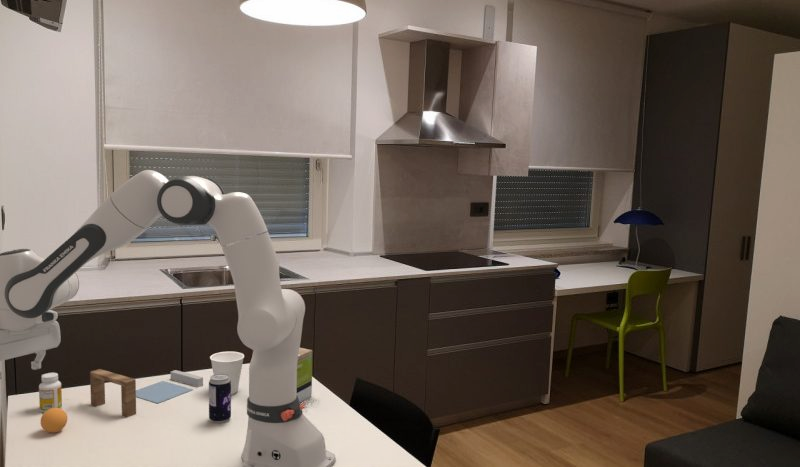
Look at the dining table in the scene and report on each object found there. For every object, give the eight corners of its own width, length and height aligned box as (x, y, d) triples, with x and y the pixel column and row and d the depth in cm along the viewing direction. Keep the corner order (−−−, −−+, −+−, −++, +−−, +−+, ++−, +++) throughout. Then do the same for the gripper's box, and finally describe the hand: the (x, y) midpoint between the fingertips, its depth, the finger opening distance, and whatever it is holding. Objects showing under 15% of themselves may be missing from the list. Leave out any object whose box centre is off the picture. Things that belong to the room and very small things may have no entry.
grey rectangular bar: (203, 385, 200) (203, 377, 199) (198, 387, 198) (198, 379, 198) (175, 377, 205) (175, 369, 205) (170, 379, 204) (170, 371, 203)
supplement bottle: (55, 403, 182) (54, 370, 181) (66, 408, 179) (64, 374, 178) (35, 409, 177) (34, 375, 176) (46, 414, 174) (44, 379, 173)
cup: (207, 388, 197) (207, 353, 196) (240, 384, 201) (240, 350, 200) (212, 400, 188) (212, 363, 187) (247, 395, 192) (247, 359, 191)
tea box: (250, 397, 191) (251, 348, 189) (272, 387, 200) (273, 340, 198) (292, 408, 184) (292, 357, 182) (312, 397, 193) (313, 348, 191)
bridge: (136, 413, 177) (135, 379, 176) (126, 417, 174) (126, 382, 173) (100, 402, 184) (99, 368, 183) (90, 405, 182) (90, 371, 180)
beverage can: (224, 425, 171) (224, 381, 170) (205, 422, 172) (204, 379, 171) (234, 417, 177) (234, 374, 175) (215, 414, 178) (215, 372, 176)
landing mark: (192, 389, 195) (192, 389, 195) (157, 403, 184) (157, 403, 184) (163, 381, 202) (162, 380, 202) (127, 394, 191) (127, 393, 190)
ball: (72, 430, 166) (72, 407, 165) (50, 438, 160) (49, 415, 160) (58, 424, 168) (57, 402, 168) (35, 432, 163) (34, 409, 163)
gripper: (-24, 329, 143) (-23, 389, 145) (63, 311, 160) (64, 365, 162) (-40, 324, 146) (-38, 383, 148) (48, 307, 164) (49, 360, 165)
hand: (16, 374), depth 155 cm, fingers open, 8 cm apart
